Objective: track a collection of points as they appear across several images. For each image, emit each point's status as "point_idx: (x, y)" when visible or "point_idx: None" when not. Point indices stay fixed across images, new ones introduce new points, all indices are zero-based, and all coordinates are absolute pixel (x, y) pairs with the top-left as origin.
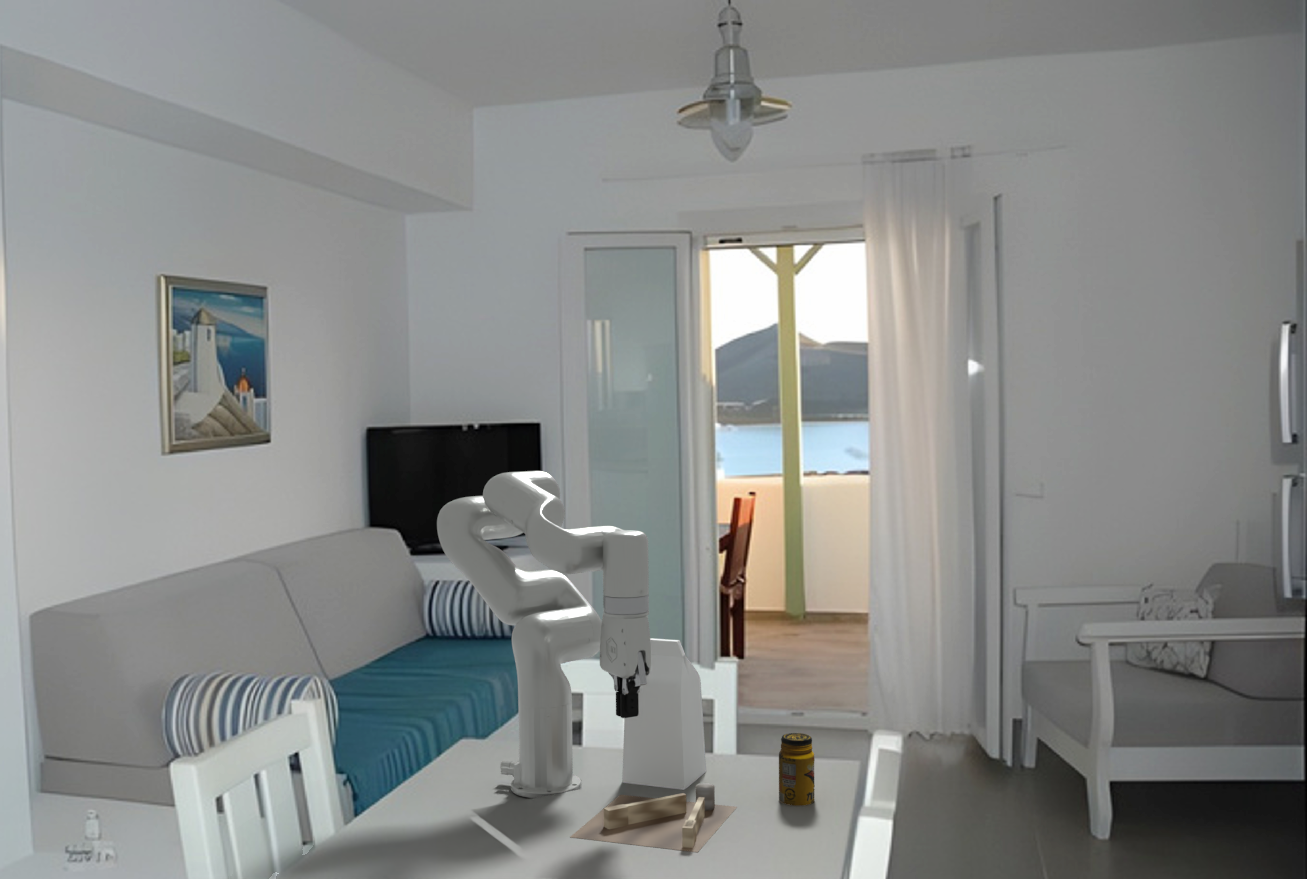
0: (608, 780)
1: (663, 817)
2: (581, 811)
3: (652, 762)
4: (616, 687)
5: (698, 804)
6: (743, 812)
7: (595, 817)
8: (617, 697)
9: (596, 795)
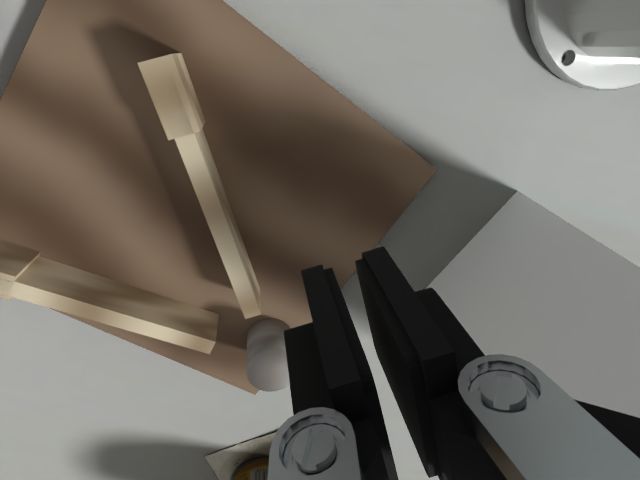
0: (588, 172)
1: None
2: (388, 33)
3: (497, 291)
4: (507, 393)
5: (153, 331)
6: (254, 395)
7: (271, 48)
8: (407, 331)
9: (496, 112)
